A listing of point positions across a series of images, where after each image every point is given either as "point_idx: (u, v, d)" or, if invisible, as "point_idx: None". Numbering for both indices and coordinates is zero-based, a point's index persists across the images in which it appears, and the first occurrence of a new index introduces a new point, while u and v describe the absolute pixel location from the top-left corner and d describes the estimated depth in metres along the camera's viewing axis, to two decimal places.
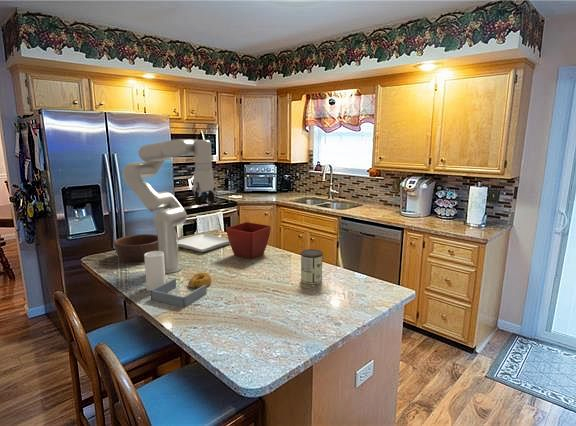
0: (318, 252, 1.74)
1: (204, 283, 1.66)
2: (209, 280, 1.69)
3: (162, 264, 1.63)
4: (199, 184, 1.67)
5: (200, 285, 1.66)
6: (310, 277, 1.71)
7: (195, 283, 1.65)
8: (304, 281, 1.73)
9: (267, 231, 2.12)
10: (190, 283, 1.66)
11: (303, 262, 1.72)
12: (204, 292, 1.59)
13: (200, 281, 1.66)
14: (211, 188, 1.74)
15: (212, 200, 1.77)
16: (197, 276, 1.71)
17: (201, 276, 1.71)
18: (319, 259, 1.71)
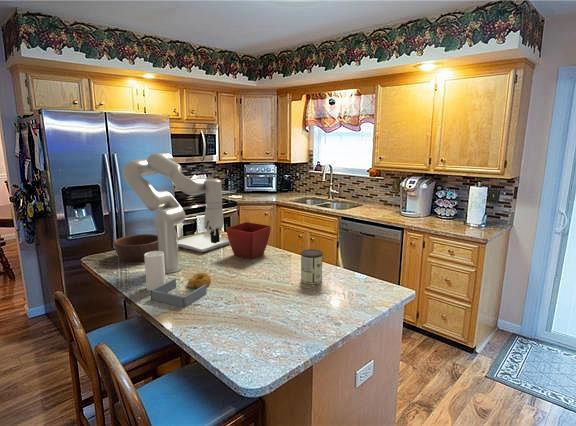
0: (318, 252, 1.74)
1: (203, 283, 1.66)
2: (208, 280, 1.69)
3: (162, 264, 1.63)
4: (210, 223, 1.72)
5: (199, 285, 1.65)
6: (310, 277, 1.71)
7: (194, 283, 1.65)
8: (304, 281, 1.73)
9: (267, 231, 2.12)
10: (189, 283, 1.66)
11: (303, 262, 1.72)
12: (204, 292, 1.59)
13: (199, 281, 1.66)
14: (221, 225, 1.79)
15: (217, 241, 1.79)
16: (196, 276, 1.71)
17: (200, 276, 1.71)
18: (319, 259, 1.71)
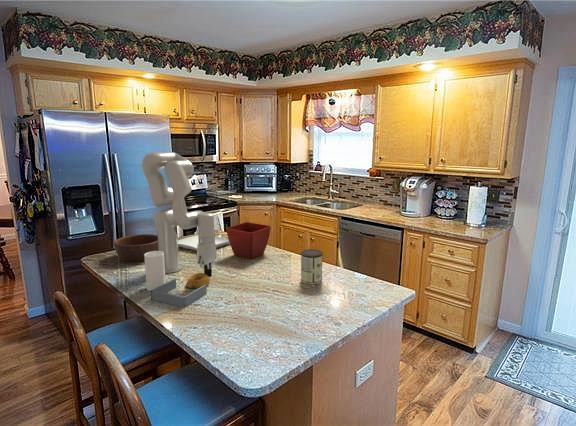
0: (318, 252, 1.74)
1: (202, 283, 1.66)
2: (207, 280, 1.68)
3: (162, 264, 1.63)
4: (202, 258, 1.68)
5: (198, 285, 1.65)
6: (310, 277, 1.71)
7: (193, 283, 1.65)
8: (304, 281, 1.73)
9: (267, 231, 2.12)
10: (188, 283, 1.66)
11: (303, 262, 1.72)
12: (204, 292, 1.59)
13: (198, 281, 1.66)
14: (214, 259, 1.75)
15: (210, 275, 1.75)
16: (195, 276, 1.70)
17: (199, 276, 1.71)
18: (319, 259, 1.71)
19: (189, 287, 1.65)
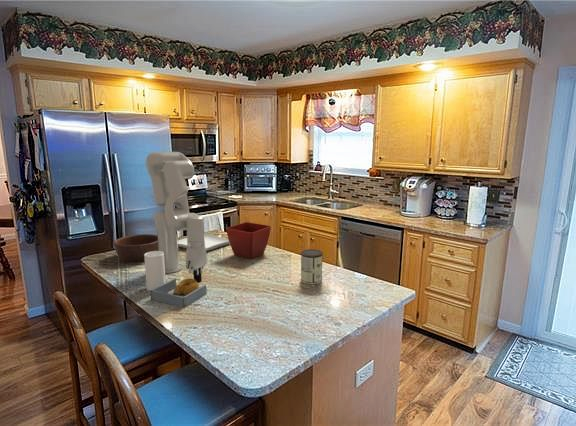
0: (318, 252, 1.74)
1: (190, 290, 1.59)
2: (196, 286, 1.61)
3: (162, 264, 1.63)
4: (191, 263, 1.61)
5: (186, 292, 1.58)
6: (310, 277, 1.71)
7: (181, 290, 1.58)
8: (304, 281, 1.73)
9: (267, 231, 2.12)
10: (176, 289, 1.59)
11: (303, 262, 1.72)
12: (204, 292, 1.59)
13: (186, 287, 1.59)
14: (204, 264, 1.68)
15: (199, 280, 1.68)
16: (184, 282, 1.63)
17: (188, 282, 1.63)
18: (319, 259, 1.71)
19: (177, 293, 1.58)
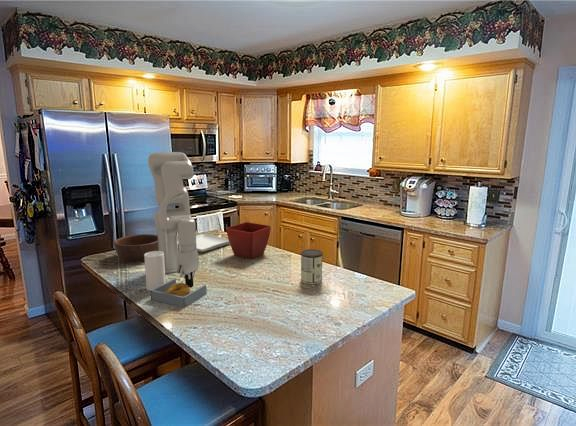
0: (318, 252, 1.74)
1: (181, 295, 1.54)
2: (187, 291, 1.56)
3: (162, 264, 1.63)
4: (182, 267, 1.56)
5: None
6: (310, 277, 1.71)
7: None
8: (304, 281, 1.73)
9: (267, 231, 2.12)
10: None
11: (303, 262, 1.72)
12: (204, 292, 1.59)
13: (177, 293, 1.53)
14: (196, 268, 1.63)
15: (191, 285, 1.63)
16: (174, 287, 1.58)
17: (179, 287, 1.58)
18: (319, 259, 1.71)
19: None
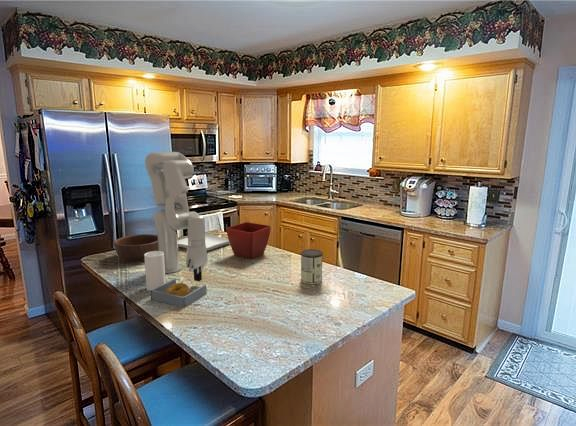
0: (318, 252, 1.74)
1: (180, 295, 1.54)
2: (186, 292, 1.56)
3: (162, 264, 1.63)
4: (192, 261, 1.62)
5: None
6: (310, 277, 1.71)
7: None
8: (304, 281, 1.73)
9: (267, 231, 2.12)
10: None
11: (303, 262, 1.72)
12: (204, 292, 1.59)
13: (176, 293, 1.53)
14: (204, 262, 1.69)
15: (200, 279, 1.69)
16: (174, 287, 1.58)
17: (178, 287, 1.58)
18: (319, 259, 1.71)
19: None
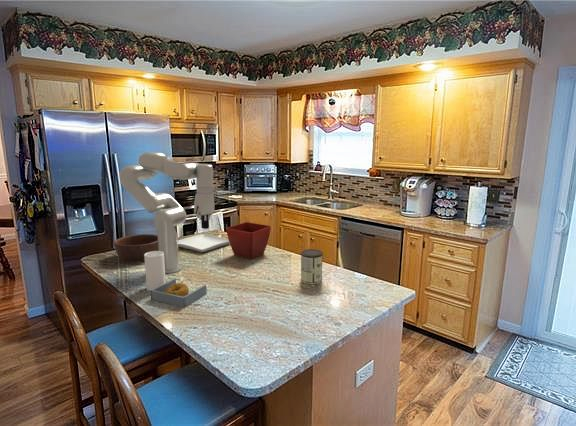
0: (318, 252, 1.74)
1: (180, 295, 1.53)
2: (186, 292, 1.56)
3: (162, 264, 1.63)
4: (199, 208, 1.70)
5: None
6: (310, 277, 1.71)
7: None
8: (304, 281, 1.73)
9: (267, 231, 2.12)
10: None
11: (303, 262, 1.72)
12: (204, 292, 1.59)
13: (175, 293, 1.53)
14: (212, 211, 1.76)
15: (207, 227, 1.76)
16: (173, 287, 1.58)
17: (178, 287, 1.58)
18: (319, 259, 1.71)
19: None
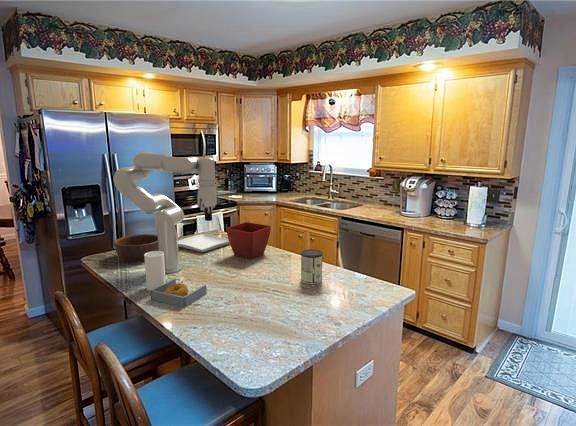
0: (318, 252, 1.74)
1: (179, 295, 1.53)
2: (185, 292, 1.56)
3: (162, 264, 1.63)
4: (203, 200, 1.73)
5: None
6: (310, 277, 1.71)
7: None
8: (304, 281, 1.73)
9: (267, 231, 2.12)
10: None
11: (303, 262, 1.72)
12: (204, 292, 1.59)
13: (175, 293, 1.53)
14: (214, 203, 1.80)
15: None
16: (172, 287, 1.58)
17: (177, 287, 1.58)
18: (319, 259, 1.71)
19: None
